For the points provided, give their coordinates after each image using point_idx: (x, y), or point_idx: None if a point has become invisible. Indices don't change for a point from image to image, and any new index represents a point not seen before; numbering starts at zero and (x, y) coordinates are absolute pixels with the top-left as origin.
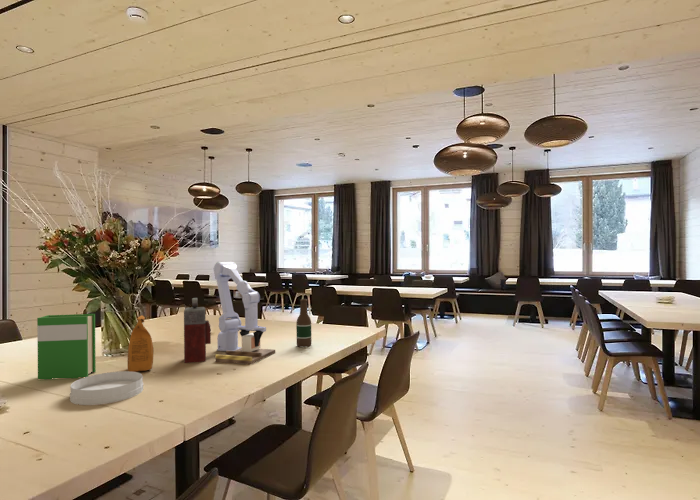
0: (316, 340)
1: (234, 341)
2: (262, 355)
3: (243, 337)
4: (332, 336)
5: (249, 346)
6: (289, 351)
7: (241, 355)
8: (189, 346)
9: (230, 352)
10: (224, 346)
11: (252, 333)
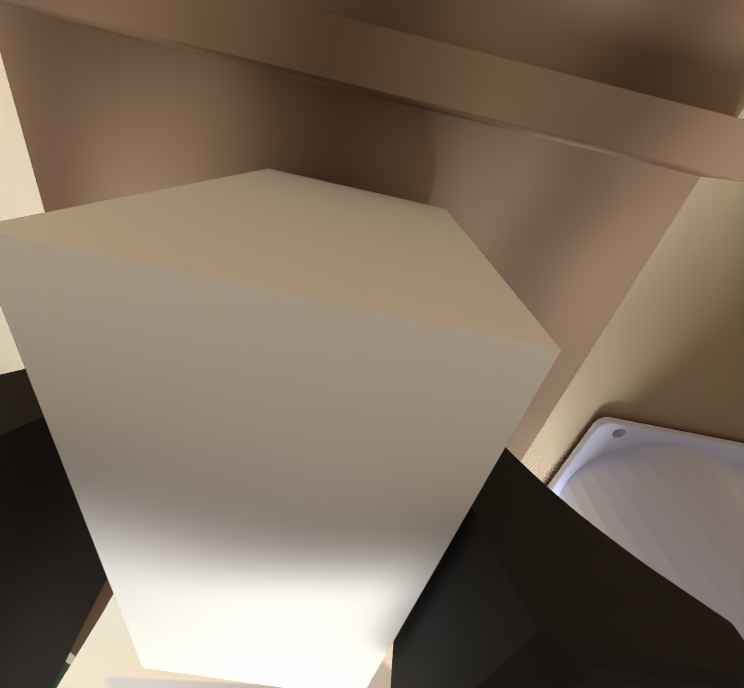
0: (92, 638)
1: (641, 551)
2: (10, 62)
3: (436, 298)
4: (74, 677)
5: (250, 179)
6: None
7: (400, 24)
8: None
9: (663, 107)
10: (738, 484)
11: (306, 660)
